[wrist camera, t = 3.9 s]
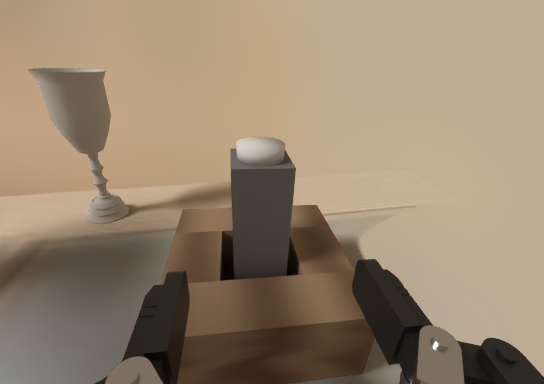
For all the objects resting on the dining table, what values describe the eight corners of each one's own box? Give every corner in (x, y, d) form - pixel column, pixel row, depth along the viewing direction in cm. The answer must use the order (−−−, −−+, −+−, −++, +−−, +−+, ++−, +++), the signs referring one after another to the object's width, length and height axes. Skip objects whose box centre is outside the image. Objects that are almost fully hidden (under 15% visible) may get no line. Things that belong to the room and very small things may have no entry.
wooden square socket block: (159, 400, 17) (142, 341, 14) (188, 256, 30) (182, 209, 27) (362, 373, 19) (381, 317, 16) (310, 248, 31) (316, 204, 29)
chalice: (138, 220, 35) (106, 72, 27) (77, 233, 32) (19, 71, 24) (133, 197, 41) (105, 68, 33) (81, 206, 38) (35, 67, 30)
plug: (235, 323, 22) (230, 153, 15) (234, 287, 26) (230, 135, 19) (282, 319, 23) (297, 153, 16) (275, 284, 26) (285, 135, 20)
